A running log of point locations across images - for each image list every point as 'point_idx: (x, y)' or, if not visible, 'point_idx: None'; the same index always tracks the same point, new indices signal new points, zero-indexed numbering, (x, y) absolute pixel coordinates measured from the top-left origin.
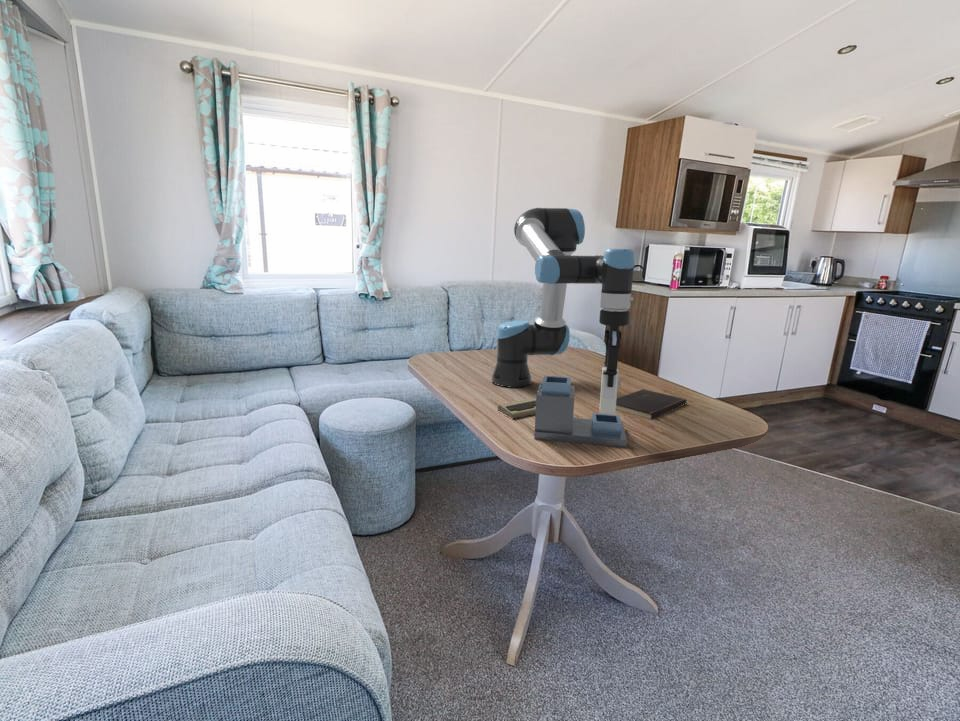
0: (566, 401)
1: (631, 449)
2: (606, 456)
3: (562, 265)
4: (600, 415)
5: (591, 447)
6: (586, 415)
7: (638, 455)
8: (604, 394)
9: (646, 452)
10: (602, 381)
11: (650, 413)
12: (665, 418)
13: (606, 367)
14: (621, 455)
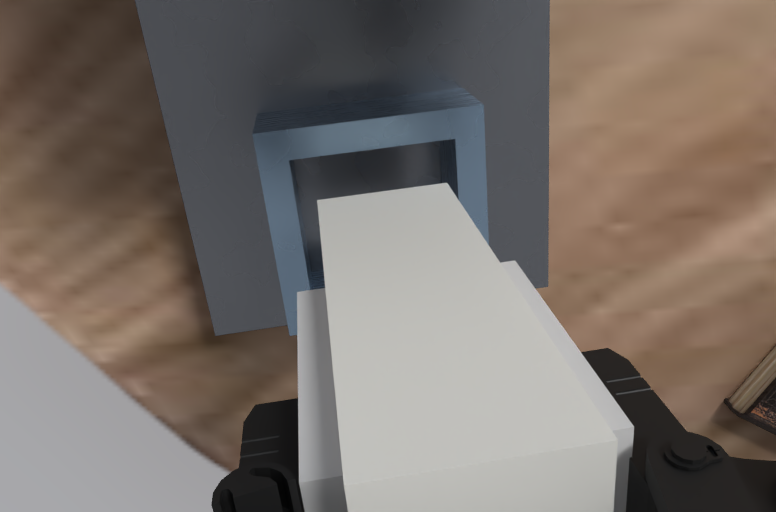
0: None
1: (200, 339)
2: (11, 221)
3: None
4: (454, 172)
5: (113, 116)
6: (751, 10)
7: (128, 377)
8: (298, 316)
9: (193, 408)
10: (333, 366)
11: (752, 413)
12: (748, 458)
13: (573, 500)
14: (77, 298)
